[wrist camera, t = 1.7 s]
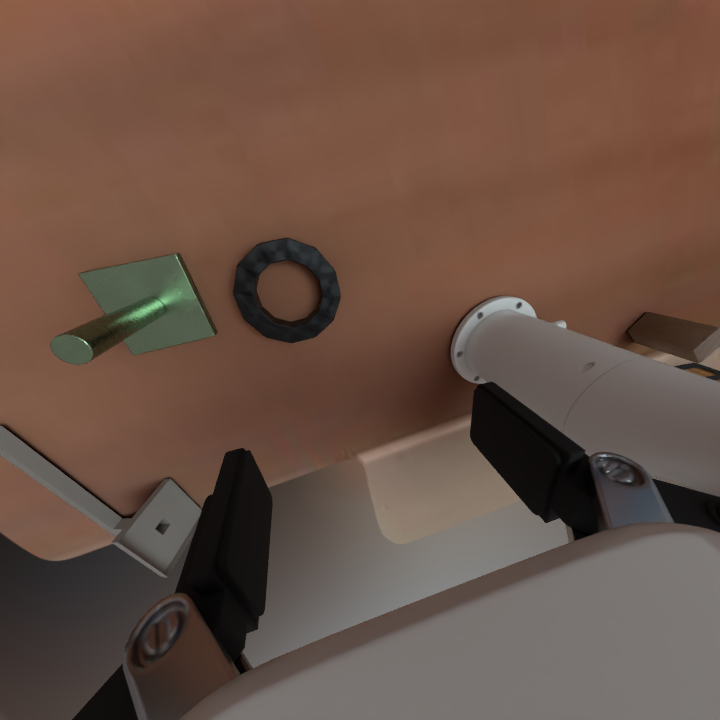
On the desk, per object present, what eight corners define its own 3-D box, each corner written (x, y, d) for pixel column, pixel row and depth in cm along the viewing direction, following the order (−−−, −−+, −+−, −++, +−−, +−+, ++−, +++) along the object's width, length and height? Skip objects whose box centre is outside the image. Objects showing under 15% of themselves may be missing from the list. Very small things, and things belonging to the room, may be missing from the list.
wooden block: (625, 330, 41) (693, 351, 34) (646, 310, 40) (721, 326, 33) (633, 343, 43) (700, 364, 36) (654, 323, 42) (726, 342, 35)
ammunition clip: (647, 379, 48) (746, 420, 37) (651, 370, 47) (754, 410, 36) (690, 371, 50) (795, 408, 39) (695, 362, 49) (804, 398, 38)
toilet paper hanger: (28, 407, 29) (-74, 464, 23) (87, 396, 27) (-7, 455, 21) (156, 515, 40) (111, 574, 34) (205, 514, 38) (167, 577, 31)
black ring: (324, 229, 25) (326, 229, 24) (345, 324, 30) (347, 329, 28) (221, 250, 24) (216, 252, 23) (259, 345, 29) (257, 351, 27)
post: (180, 253, 24) (99, 266, 14) (217, 332, 27) (175, 386, 18) (85, 271, 23) (-70, 300, 13) (138, 351, 26) (47, 419, 17)
